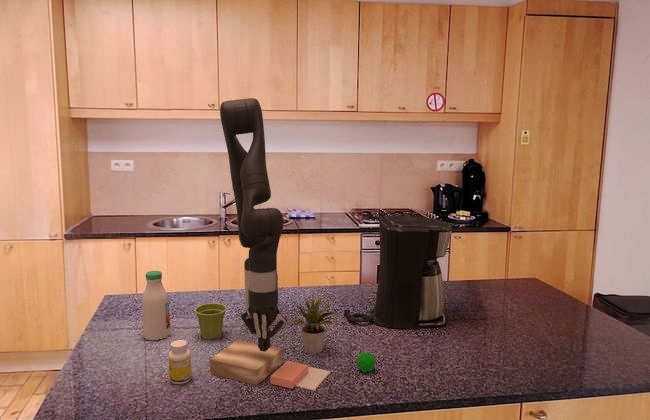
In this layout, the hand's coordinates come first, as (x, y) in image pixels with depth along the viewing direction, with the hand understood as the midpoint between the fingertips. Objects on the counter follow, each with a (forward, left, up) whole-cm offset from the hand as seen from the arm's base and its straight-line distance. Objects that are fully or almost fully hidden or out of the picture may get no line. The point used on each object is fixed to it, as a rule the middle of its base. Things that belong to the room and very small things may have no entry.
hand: (264, 350), depth 130 cm
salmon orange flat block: (+1, +8, -4) cm, 9 cm away
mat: (-2, +10, -6) cm, 12 cm away
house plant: (-16, +6, -6) cm, 18 cm away
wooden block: (0, -5, -6) cm, 8 cm away
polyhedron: (-12, +24, -6) cm, 27 cm away
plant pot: (-13, -26, -6) cm, 30 cm away
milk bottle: (-6, -41, -6) cm, 42 cm away
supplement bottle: (+12, -17, -6) cm, 22 cm away
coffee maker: (-53, +21, -6) cm, 57 cm away
